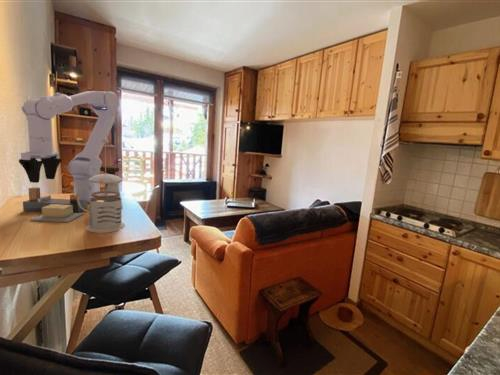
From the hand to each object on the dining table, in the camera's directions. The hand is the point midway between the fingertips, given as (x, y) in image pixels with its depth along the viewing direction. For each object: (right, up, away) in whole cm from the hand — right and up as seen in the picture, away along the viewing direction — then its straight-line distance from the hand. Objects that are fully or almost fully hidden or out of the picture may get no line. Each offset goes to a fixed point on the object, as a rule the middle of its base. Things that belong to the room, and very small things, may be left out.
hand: (42, 180), depth 81 cm
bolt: (+17, -10, +8) cm, 22 cm away
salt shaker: (+22, -12, +1) cm, 25 cm away
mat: (+10, -11, -6) cm, 16 cm away
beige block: (+10, -11, -6) cm, 16 cm away
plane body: (+4, -10, +1) cm, 10 cm away
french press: (+26, -14, -11) cm, 31 cm away
